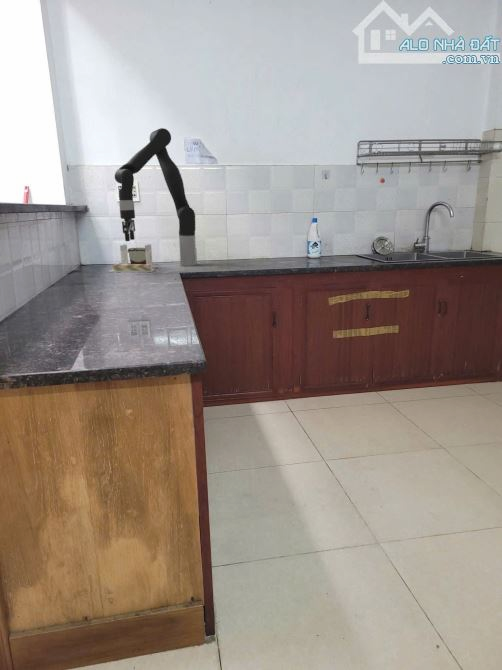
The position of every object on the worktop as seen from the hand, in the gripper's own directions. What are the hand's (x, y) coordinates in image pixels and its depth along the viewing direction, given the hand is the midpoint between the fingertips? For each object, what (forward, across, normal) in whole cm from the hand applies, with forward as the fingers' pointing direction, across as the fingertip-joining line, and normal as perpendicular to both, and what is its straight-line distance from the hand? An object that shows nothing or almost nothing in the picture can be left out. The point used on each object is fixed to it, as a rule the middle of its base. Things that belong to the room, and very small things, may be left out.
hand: (130, 240), depth 254 cm
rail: (+16, 0, 0) cm, 16 cm away
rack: (+16, +10, 0) cm, 19 cm away
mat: (+16, 0, 0) cm, 17 cm away
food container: (+17, +22, +2) cm, 28 cm away
